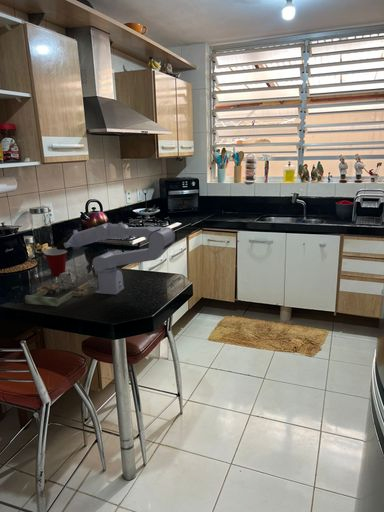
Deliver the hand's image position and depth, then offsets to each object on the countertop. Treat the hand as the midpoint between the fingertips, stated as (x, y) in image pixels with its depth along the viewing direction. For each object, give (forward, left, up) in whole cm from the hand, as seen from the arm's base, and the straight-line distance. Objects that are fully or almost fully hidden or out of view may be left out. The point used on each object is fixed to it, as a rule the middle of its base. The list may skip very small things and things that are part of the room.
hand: (62, 244), depth 157 cm
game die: (-3, +4, -19) cm, 19 cm away
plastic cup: (+14, -13, -19) cm, 27 cm away
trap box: (-3, +10, -19) cm, 21 cm away
